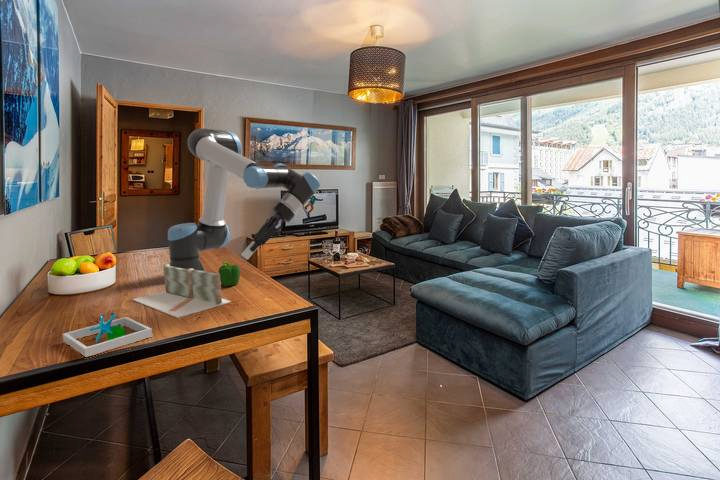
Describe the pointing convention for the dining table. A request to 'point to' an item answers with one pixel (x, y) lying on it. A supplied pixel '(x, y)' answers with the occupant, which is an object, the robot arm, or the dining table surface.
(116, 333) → the stick construction toy
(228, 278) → the bell pepper
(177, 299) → the card
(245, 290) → the dining table surface
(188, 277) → the fixed fence section
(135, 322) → the grey storage tray
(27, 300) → the dining table surface
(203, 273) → the folding fence panel
